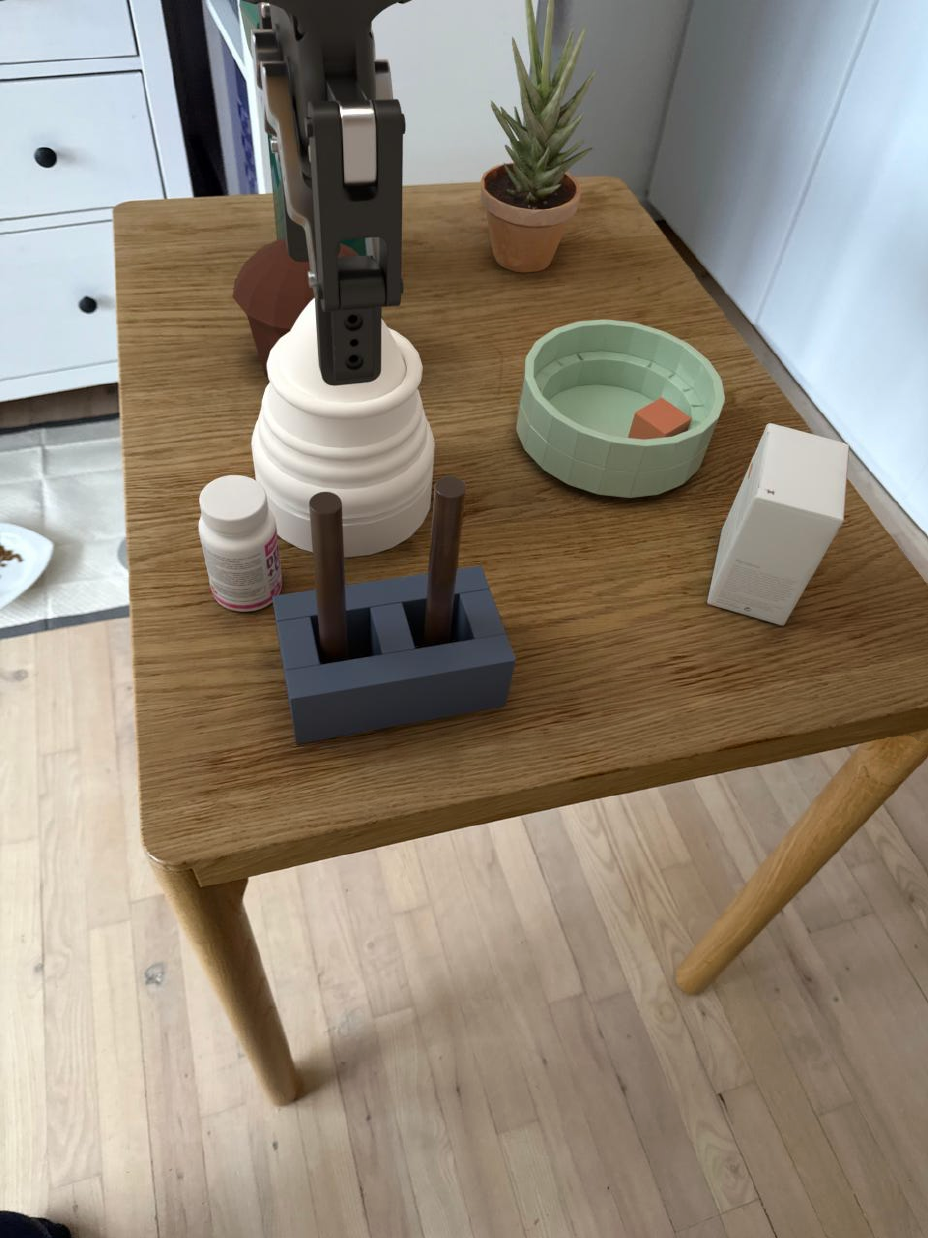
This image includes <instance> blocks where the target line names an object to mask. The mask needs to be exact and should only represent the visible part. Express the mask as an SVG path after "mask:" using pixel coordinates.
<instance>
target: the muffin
mask: <svg viewBox="0 0 928 1238" xmlns="http://www.w3.org/2000/svg"><path fill="white" fill-rule="evenodd" d="M340 245H341V250H340V253H339V255H338V256H337V258H339V257H354V256H359V255H358V254H357V253H356V252H355V251H354V250H353V249H352V248H350V247H348V246H346V245H344V244H341V243H340ZM308 271H310V263H309V262H297V261H294V260H293V259H292V258H291V257H290V255H289V253H288V249H287V245H286V238H283V239H280V240H277V239H276V240H275V241H272V242H269V243H267V244H265V245H263V246H262V247H260V248H259V249H257V251H256V252H255V253H253V254H252V255H251V256H250V257H249V258H248V259H247V260H246V261H245V263H243V264H242V266H241V268H240V269H239V271H238V274H237V276H236V278H234V284H233V291H232V293H233V294H232V299H233V300H234V301H235V302H236V303H237V305H238V306H239V307H240V309H241V310H242V311H243V312H244V314H245V316H246V318H247V320H248V323H249V327H250V330H251V334H252V338H253V342H254V345H255V349H256V352H257V356H258V358H259V360H260V364H261V367H262V372H263V374H264V376H266V377H268V372H267V361H268V358H269V354H270V351H271V350H272V348H273V347H274V346H275V344H276V343H277V342H278V341H279V339H280V338H281V337H283V336H284V335H286V334H287V333H288V332H290V331H291V329H292V327H293V325H294V324H295V322H296V320H297V319H298V317H299V316H300V314H301V313H302V311H303V310H304V309H305V308H306V306H307V305H308V304H309V303H310V302H311V301H312V300H313V299H314V298H315V296H314V291H313V287H309V282H308Z"/></svg>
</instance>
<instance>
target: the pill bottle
mask: <svg viewBox="0 0 928 1238" xmlns="http://www.w3.org/2000/svg"><path fill="white" fill-rule="evenodd" d="M198 501H199V502H198V503H199V509H200V512H201V515H200V517H199V521H198V535H199V539H200V543H201V548H202V552H203V557H204V562H205V566H206V571H207V575H208V580H209V588H210V591H211V593H212V594H211V595H212V596H213V598H214V599H215V601H216V602H217V603H218V604H220V605H221V606H222V607H224V608H226V609H228V610H230V611H234V612H240V613H241V612H244V613H245V612H255V611H259V610H262V609H264V608H266V607H268V606H269V605H271V604H273V598H272V597H273V596H275V595H280V593H281V590H282V587H283V574H282V565H281V557H280V548H279V540H278V534H277V528H276V522H275V518H274V515H273V513H272V512H271V510H270V509H269V508H268V502H267V496H266V492H265V490H264V488H263V486H262V485H261V484H260V483H259V482H257V481H256V479H254V478H252V477H249V476H246V475H243V474H242V475H241V474H229V475H224V476H220V477H217V478H215V479H213V480H211V481H210V482H208V483H207V484H206V485H205V486H204V487H203V488H202V491H201V492H200V493H199V498H198Z"/></svg>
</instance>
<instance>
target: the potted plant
mask: <svg viewBox="0 0 928 1238" xmlns="http://www.w3.org/2000/svg"><path fill="white" fill-rule="evenodd" d="M524 7H525V21H526V22H525V23H526V31H527V32H526V33H527V42H528V52H529V59H530V67H531V74H532V81H531V78H530V76H529V74H528V71H527V69H526V67H525V64H524V62H523V59H522V56H521V54H520V53H521V52H520V51H519V47H518V45H517V42H516V40H515V37H514V36H511V46H512V53H513V57H514V59H513V60H514V63H515V68H516V69H515V70H516V76H517V79H518V80H517V81H518V86H519V89H520V90H519V95H520V96H519V97H520V104H521V105H520V106H521V110H522V114H523V119H524V123H525V126H524V125H523V123H522V120H521V118H520V115H519V112H518V107H517V106H515V105H514V106H513V111H514V118H513V117H512V116H511V115H510V114H509V113H508V112H507V110H505V108H503V107H502V106H500V107H499V108H498V106H497V105H496V104H495V102H493V100H490V107H491V110H492V112H493V114H494V116H495V118H496V120H497V122H498V124H499V125H500V127H501V129H502V131H504V133H505V134H506V136H507V137H508V139H509V143H510V146H511V147H510V146H509V145H508V144H506V143H505V144H504V148H505V151H506V152H507V155H508V156H509V158H510V159H511V160H512V162H507V163H505V162H503V163H502V164H497V165H495V166H493V167H491V168H489V169H488V170H487V171H485V172H483V174H482V176H481V178H480V201H481V204H482V206H483V208H484V209H485V213H486V217H487V219H486V220H487V224H488V228H489V229H488V230H489V235H490V240H491V249H492V254H493V257H494V259H495V262H496V263H497V265H499V266H501V267H502V268H504V269H506V270H509V271H511V272H515V273H522V274H523V273H533V272H534V273H536V272H540V271H543V270H545V269H546V268H548V267H549V266H550V264H551V263H552V261H553V258H554V256H555V253H556V251H557V249H558V246H559V244H560V242H561V239H562V237H563V235H564V233H565V231H566V229H567V225H568V224H569V221H570V219H571V218H572V217H573V216H574V215H575V214H576V213H577V211H578V209H579V204H580V200H581V191H582V187H581V185H580V182H579V181H578V179H577V178H576V177H575V176H573V175H572V174H570V173H569V172H568V171H569V170H570V168H572V167H573V165H574V164H576V163H577V162H579V161H580V160H581V159H582V158H584V157H585V156H586V155H587V154H588V153H590V152H591V151H593V149H594V148H593V147H589V148H586V149H584V150H583V151H580V152H578V153H576V154H574V155H573V156H571V155H572V154H573V153H575V152H576V151H578V149H579V148H580V147H581V146H582V145H583V144H584V143H585V142H586V140H585V139H584V138H582V139H581V140H580V141H578V142H577V143H576V144H574V145H573V146H572V147H571V148H570V149H568V150H566V151H563V152H561V151H562V149H563V148H564V147H565V145H566V144H567V143H568V142H569V140H570V139H571V138H572V136H573V134H574V133H575V132H576V130H577V128H578V126H579V125H580V123H581V121H582V119H583V118H584V115H585V112H584V111H582V112H581V113H580V114H579V115H578V116H576V117H575V118H574V119H573V120H572V118H573V116H574V115H575V113H576V111H577V110H578V108H579V107H580V105H581V103H582V101H583V99H584V97H585V95H586V93H587V91H588V90H589V88H590V86H591V85H592V82H593V81H594V78H595V75H596V72H597V69H596V67H594V68H593V70H592V71H591V72H590V74H589V76H588V77H587V78H586V80H585V81H584V83H583V84H582V85H581V87H580V88H579V89H578V90H576V92H575V93H574V95H573V96H572V97H571V98H570V99H568V101H566V102H565V103H564V104H563V105H562V103H563V99H564V96H565V95H566V91H567V89H568V86H569V85H570V82H571V78H572V76H573V73H574V71H575V68H576V65H577V62H578V59H579V57H580V54H581V50H582V47H583V44H584V40H585V37H586V30H587V25H584V27H583V29H582V31H581V32H580V34H579V37H578V39H577V42H576V44H575V46H574V48H573V42H574V33H575V29H574V28H572V29H571V30H570V33H569V36H568V38H567V41H566V43H565V45H564V48H563V51H562V52H561V56H560V58H559V60H558V63H557V65H556V68H555V70H554V74H553V75H552V78H551V69H552V68H551V65H552V62H551V61H552V43H553V27H554V13H555V11H554V10H555V0H548V3H547V9H546V19H545V20H546V21H545V29H544V38H543V50H542V51H543V52H542V54H541V51H540V44H539V37H538V36H539V35H538V32H537V30H538V29H537V25H536V19H535V12H534V5H533V0H524ZM541 55H542V56H541ZM532 82H533V83H532ZM571 120H572V121H571ZM569 156H571V157H569ZM567 158H568V159H567Z"/></svg>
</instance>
